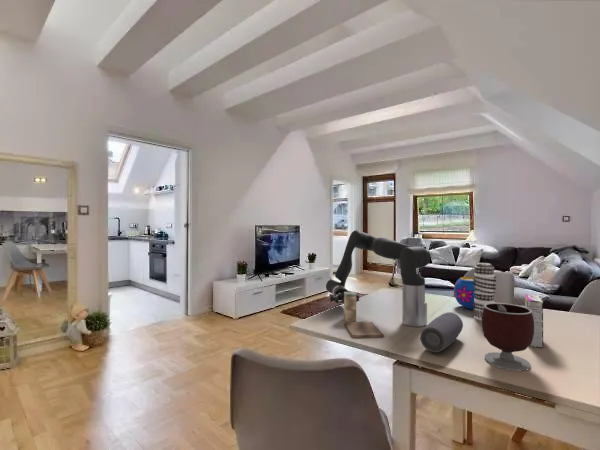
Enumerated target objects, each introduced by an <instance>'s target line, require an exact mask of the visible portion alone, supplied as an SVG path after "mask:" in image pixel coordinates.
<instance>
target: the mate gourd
mask: <svg viewBox="0 0 600 450" xmlns="http://www.w3.org/2000/svg"><path fill="white" fill-rule="evenodd" d="M481 328H482V332H483V333H482V334H483V336H484V338H485V340H486V341H487V342H488V344H489V345H491V346H492V347H495V348H496V349H499V350H501V351H500V352H499V351H498V352H496V351H495V352H487V353H486V354H484V361H485V360H486V361H487V362H486V361H485V362H486V363H488V364H489V363H490V365H491V364H492V365H491V366H493V365H494V366H493V367H495V366H496V368H498V367H500V368H499V369H501V368H503V369H502V370H505V369H509V370H508V371H511V370H527V369H529V368H530V367H531V366H532V365H531V363H530V361H529V360H527V359H525V358H523V357H522V356H521V357H520V356H518V355H515V354H513V353H515V352H516V353H517V352H522V351H525V350H527V349H528V347H531V346H530V345H531V343H532V340H533V336H534V319H533V315H532V310H530V309H528V308H526V307H525V306H522V305H517V304H512V303H505V302H503V303H501V302H494V303H488V304H485V305H484V309H483V313H482V320H481ZM531 368H532V367H531ZM531 368H530V369H531ZM530 369H529V370H530ZM527 371H528V370H527Z"/></svg>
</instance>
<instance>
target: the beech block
mask: <svg viewBox="0 0 600 450" xmlns="http://www.w3.org/2000/svg"><path fill="white" fill-rule="evenodd" d="M356 294H357V293H355V292H354V291H348V292H344V302H343V319H344V320H345V322H357V302H356Z"/></svg>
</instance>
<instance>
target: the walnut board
mask: <svg viewBox="0 0 600 450" xmlns="http://www.w3.org/2000/svg"><path fill="white" fill-rule="evenodd" d="M343 325H344V326H345V328H346V329H347V332H348V333H349V334H350V336H351V337H352V338H351V339H355V338H356V339H357V338H358V339H359V338H361V339H362V338H365V339H366V338H384V333H383V332H382V331H381V330H380V329H379V328H378V327H377V325H376V324H375V323H374V322H373V321H345V322H344V324H343Z"/></svg>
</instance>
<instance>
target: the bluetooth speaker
mask: <svg viewBox="0 0 600 450" xmlns="http://www.w3.org/2000/svg"><path fill="white" fill-rule="evenodd" d="M463 327H464V324H463V320H462V318H461V317H460V316H459V314H456V313H455V312H444V313H443V314H440V315H439V316H437V317H435V318H434V319H433V320H431V321H430V322H429V323H427V325H425V326H424V328H423V329H422V330H421V333H420V336H419V337H420V338H419V339H420V342H421V345H422V346H423V347H424V349H426V350H427V351H429V352H432V353H439V352H443V351H444V350H445V349H447V348H448V347H450V345H452V344H453V342H455V341H456V339H457V337H458V336H459V335H460V334H461V333H462V330H463Z"/></svg>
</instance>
